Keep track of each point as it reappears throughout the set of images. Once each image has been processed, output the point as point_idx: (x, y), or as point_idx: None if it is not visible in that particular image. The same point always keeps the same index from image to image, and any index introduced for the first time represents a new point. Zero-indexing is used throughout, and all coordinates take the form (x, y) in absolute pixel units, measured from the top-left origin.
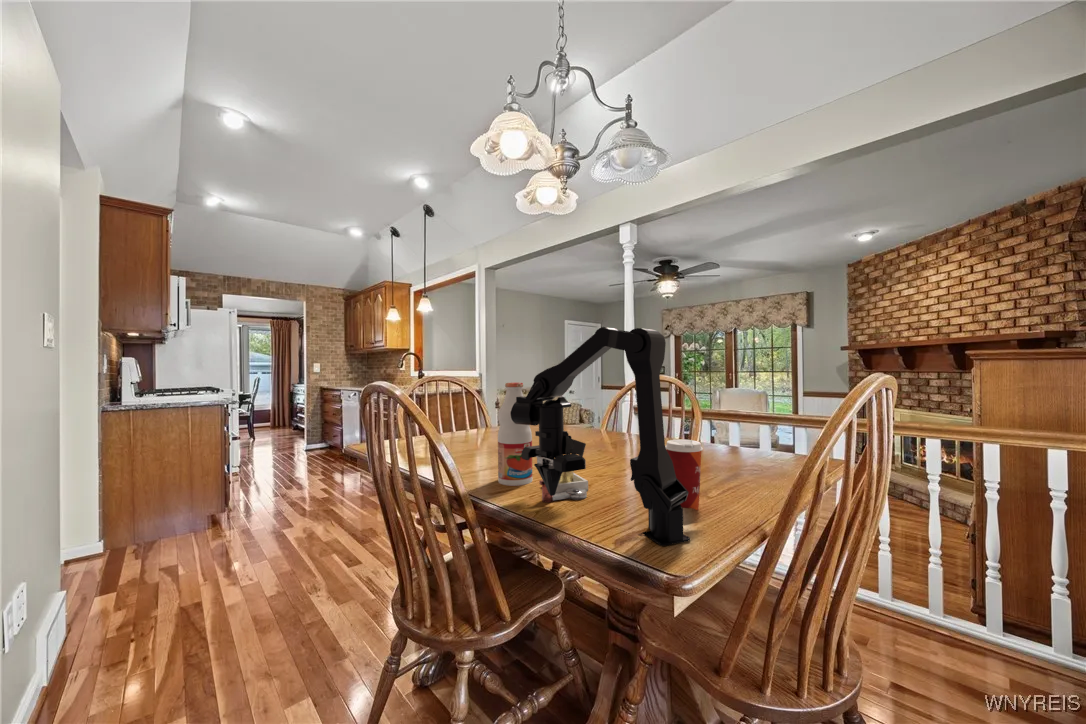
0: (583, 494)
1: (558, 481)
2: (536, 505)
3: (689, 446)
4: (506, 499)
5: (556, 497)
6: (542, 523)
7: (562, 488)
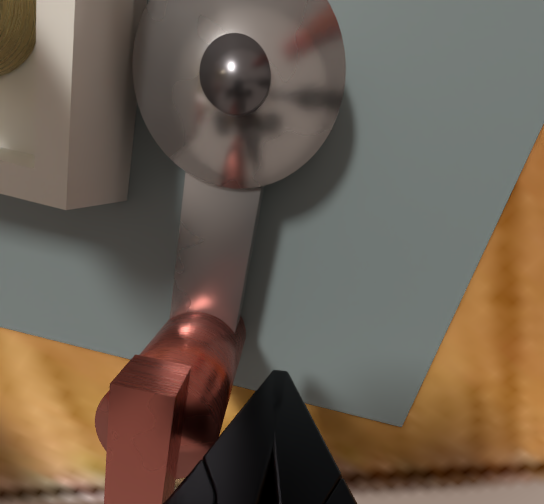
0: (343, 67)
1: (341, 483)
2: None
3: None
4: (13, 420)
5: (242, 300)
6: (417, 472)
7: (100, 148)
